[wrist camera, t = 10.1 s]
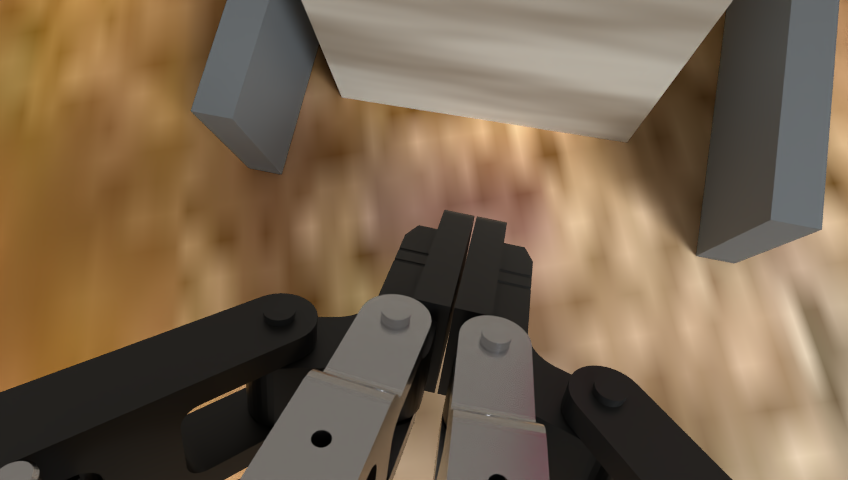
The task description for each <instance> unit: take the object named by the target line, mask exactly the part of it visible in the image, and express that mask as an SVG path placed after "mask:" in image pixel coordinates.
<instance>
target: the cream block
mask: <svg viewBox="0 0 848 480" xmlns="http://www.w3.org/2000/svg"><path fill="white" fill-rule="evenodd" d="M301 1H302V3H303V5H304V8H305V10H306V13H307V15H308V17H309V20H310V22H311V25H312V27H313V29H314V32H315V34H316V37H317V39H318V41H319V44H320V46H321V49H322V51H323V53H324V56H325V58H326V60H327V63H328V65H329V68H330V70H331V72H332V75H333V77H334V80H335V82H336V84H337V87H338V89H339V92H340V94H341V96H342V97H343V98H350V99H356V100H362V101H368V102H375V103H381V104H387V105H394V106H400V107H406V108H412V109H419V110H425V111H431V112H438V113H444V114H450V115H456V116H463V117H469V118H475V119H482V120H488V121H494V122H500V123H507V124H513V125H519V126H526V127H532V128H538V129H544V130H551V131H557V132H563V133H570V134H576V135H582V136H588V137H595V138H601V139H607V140H614V141H620V142H626V143H627V142H628V140H629V139H630V138H631V136H632V135H633V134H634V132H635V131H636V130H637V128H638V127H639V126H640V124H641V123H642V122H643V120H644V119H645V118H646V116H647V115H648V114H649V112H650V111H651V110H652V108H653V107H654V106H655V104H656V103H657V102H658V100H659V99H660V98H661V96H662V95H663V93H664V92H665V91H666V89H667V88H668V87H669V85H670V84H671V83H672V81H673V80H674V79H675V77H676V76H677V75H678V73H679V72H680V71H681V69H682V68H683V67H684V65H685V64H686V63H687V61H688V60H689V59H690V57H691V56H692V55H693V53H694V52H695V51H696V49H697V48H698V47H699V45H700V44H701V43H702V41H703V40H704V38H705V37H706V36H707V34H708V33H709V32H710V30H711V29H712V28H713V26H714V25H715V24H716V22H717V21H718V20H719V18H720V17H721V16H722V14H723V13H724V12H725V10H726V9H727V8H728V6H729V5H730V4H731V2H732V1H733V0H301Z"/></svg>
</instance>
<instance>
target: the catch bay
mask: <svg viewBox="0 0 848 480" xmlns="http://www.w3.org/2000/svg"><path fill="white" fill-rule="evenodd" d="M838 11H839V0H733V1H732V2H731V4H730V5H729V6H728V8H727V9H726V17H725V25H724V33H723V42H722V50H721V58H720V66H719V74H718V82H717V90H716V99H715V107H714V115H713V123H712V131H711V139H710V147H709V156H708V164H707V172H706V180H705V188H704V196H703V204H702V213H701V221H700V229H699V237H698V245H697V253H696V256H699V257H705V258H710V259H715V260H720V261H725V262H730V263H737V262H740V261H742V260H745V259H747V258H750V257H752V256H755V255H758V254H760V253H763V252H765V251H768V250H770V249H773V248H776V247H778V246H781V245H783V244H786V243H788V242H791V241H794V240H796V239H799V238H801V237H804V236H806V235H809V234H812V233H814V232H817V231H819V230H822V219H823V206H824V193H825V180H826V167H827V154H828V141H829V128H830V115H831V102H832V89H833V76H834V63H835V50H836V37H837V24H838ZM318 46H319V41H318V39H317V37H316V34H315V32H314V29H313V27H312V25H311V22H310V20H309V17H308V15H307V13H306V10H305V8H304V5H303V3H302V1H301V0H227V2H226V5H225V8H224V11H223V14H222V17H221V20H220V23H219V26H218V29H217V32H216V35H215V39H214V42H213V45H212V48H211V51H210V54H209V57H208V60H207V63H206V66H205V69H204V72H203V75H202V78H201V81H200V84H199V87H198V90H197V93H196V96H195V99H194V102H193V106H192V109H191V112H192V113H193V114H194V115H195V116H196V117H197V118H198V119H199V120H200V121H201V122H202V123H203V124H204V125H205V126H206V127H207V128H208V129H210V130H211V131H212V132H213V133H214V134H215V135H216V136H217V137H218V138H219V139H220V140H221V141H222V142H223V143H224V144H225V145H226V146H227V147H228V148H229V149H230V150H231V151H232V152H233V153H234V154H235V155H236V156H237V157H238V158H239V159H240V160H241V161H242V162H243V163H244V164H245V165H246V166H247V167H248V168H251V169H256V170H261V171H266V172H272V173H277V174H282V172H283V168H284V165H285V161H286V158H287V154H288V151H289V147H290V144H291V140H292V137H293V133H294V130H295V126H296V123H297V119H298V116H299V112H300V109H301V105H302V102H303V98H304V95H305V91H306V88H307V84H308V81H309V77H310V74H311V70H312V67H313V63H314V60H315V56H316V53H317V49H318Z"/></svg>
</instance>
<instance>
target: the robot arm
mask: <svg viewBox="0 0 848 480" xmlns="http://www.w3.org/2000/svg"><path fill="white" fill-rule="evenodd" d="M473 221H474V216H472V215H467V214H463V213H458V212H453V211H448V210H444V213H443V216H442V218H441V221H440V224H439V227H438V229H434V228H429V227H424V226H420V225H419V226H417V227H416V228H414V229H413V230H411V231H410V232H409V233H407V234H406V235H405V237H404V239H403V241H402V243H401V246H400V249H399V250H398V253H397V255H396V257H395V261H394V262H393V264H392V266H391V268H390V271H389V273H388V275H387V278H386V280H385V282H384V284H383V287H382V289H381V291H380V293H379V296H377V297H374V298H372V299H370V300H369V301H367V302H366V303H365V304H364V305H363V307H362V308H361V310H360V311H359V313H358V314H355V315H352V316H346V317H318V315H317V311H316V309H315V307H314V306H313V305H312V304H311V303H310V302H309V301H308V300H306V299H304V298H302V297H300V296H297V295H293V294H283V293H279V294H271V295H266V296H263V297H260V298H257V299H254V300H252V301H249V302H246V303H244V304H241V305H238V306H235V307H233V308H230V309H227V310H224V311H222V312H219V313H216V314H213V315H211V316H208V317H205V318H203V319H200V320H197V321H194V322H192V323H189V324H186V325H183V326H181V327H178V328H175V329H172V330H170V331H167V332H164V333H162V334H159V335H156V336H153V337H151V338H148V339H145V340H142V341H140V342H137V343H134V344H131V345H129V346H126V347H123V348H121V349H118V350H115V351H112V352H110V353H107V354H104V355H101V356H99V357H96V358H93V359H90V360H88V361H85V362H82V363H79V364H77V365H74V366H71V367H69V368H66V369H63V370H60V371H58V372H55V373H52V374H49V375H47V376H44V377H41V378H38V379H36V380H33V381H30V382H28V383H25V384H22V385H19V386H17V387H14V388H11V389H8V390H6V391H3V392H0V480H225V479H226V478H228V477H230V476H232V475H234V474H236V473H237V472H239V471H241V470H243V469H245V468H246V467H248V468H247V469H246V471H245V473H244V474H243V476H242V477H241V479H238V480H393V478H394V475H395V472H396V470H397V467H398V464H399V462H400V459H401V456H402V454H403V451H404V448H405V445H406V443H407V440H408V437H409V435H410V432H411V429H412V427H413V424H414V421H415V416H416V412H417V410H418V409H419V407H420V404H421V401H422V397H423V393H424V391H428V392H433V393H435V388H436V384H437V380H438V376H439V372H440V368H441V364H442V360H443V356H444V352H445V348H446V344H447V348H446V353H445V358H444V363H443V368H442V373H441V379H440V384H439V389H438V394H442V395H446V399H445V404H444V408H443V414H442V418H441V423H440V428H439V436H438V444H437V452H436V460H435V468H434V476H433V480H732V479H731V478H730V477H729V476H728V475H727V474H726V473H725V472H724V471H723V470H722V469H721V468H720V467H719V466H718V465H717V464H716V463H715V462H714V461H713V460H712V459H711V458H710V457H709V456H708V455H707V454H706V453H705V452H704V451H703V450H702V449H701V448H700V447H699V446H698V445H697V444H696V443H695V442H694V441H693V440H692V439H691V438H690V437H689V436H688V435H687V434H686V433H685V432H684V431H683V430H682V429H681V428H680V427H679V426H678V425H677V424H676V423H675V422H674V421H673V420H672V419H671V418H670V417H669V416H668V415H667V414H666V413H665V412H664V411H663V410H662V409H661V408H660V407H659V406H658V405H657V404H656V403H655V402H654V401H653V400H652V399H651V398H650V397H649V396H648V395H647V394H646V393H645V392H644V391H643V390H642V389H641V388H640V387H639V386H638V385H637V384H636V383H635V382H634V381H633V380H632V379H630V378H629V377H627V376H626V375H624V374H622V373H621V372H619V371H616V370H614V369H611V368H608V367H603V366H586V367H582V368H580V369H578V370H576V371H575V372H574V373H573V374H572V375H571V374H569V373H567V372H565V371H563V370H561V369H559V368H557V367H555V366H553V365H551V364H550V363H548V362H547V361H545V360H544V359H543V358H542V357H540V356H539V355H538V354H537V352H536V351H535V350H534V349H533V347H532V344H531V340H530V338H529V336H528V322H529V308H530V294H531V290H530V289H531V280H532V279H531V277H532V266H533V261H532V259H531V258H530V256H529V254H528V252H527V251H526V249H525V247H520V246H515V245H510V244H506V243H504V238H505V232H506V225H507V222H502V221H497V220H492V219H487V218H482V217H478V216H477V218H476V222H475V226H474V230H473V234H472V238H471V242H470V237H471V232H472V227H473ZM469 242H470V246H469ZM468 247H469V250H468ZM467 252H468V254H467ZM466 257H467V258H466ZM448 336H449V337H448ZM447 340H448V343H447ZM245 384H246V388H244V389H242V390H240V391H238V392H235V393H233V394H231V395H229V396H227V397H224V398H222V399H220V400H218V401H216V402H214V403H211V404H209V405H207V406H205V407H203V408H201V409H198V410H196V411H194V412H192V413H190V414H188V413H189V412H190V411H191V410H192V409H194V408H195V407H197V406H199V405H201V404H203V403H205V402H207V401H209V400H212V399H214V398H216V397H218V396H220V395H223V394H225V393H227V392H229V391H231V390H234V389H236V388H238V387H240V386H242V385H245Z"/></svg>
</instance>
